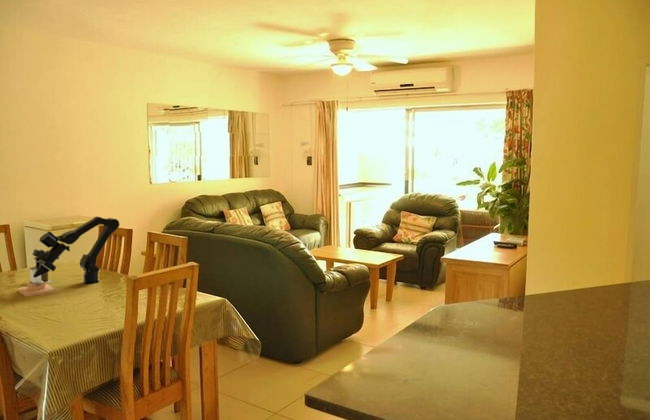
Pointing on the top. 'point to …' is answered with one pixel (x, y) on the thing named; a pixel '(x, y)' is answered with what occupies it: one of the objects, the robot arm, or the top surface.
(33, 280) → the column
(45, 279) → the condiment
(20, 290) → the stand
